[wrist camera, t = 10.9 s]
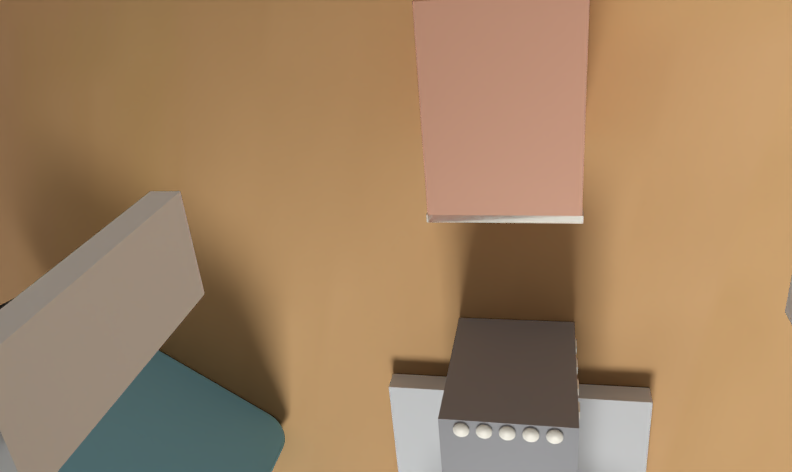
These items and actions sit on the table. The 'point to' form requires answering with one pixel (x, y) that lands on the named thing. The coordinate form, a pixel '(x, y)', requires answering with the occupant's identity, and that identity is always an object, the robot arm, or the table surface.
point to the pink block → (502, 108)
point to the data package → (179, 428)
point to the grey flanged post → (517, 407)
